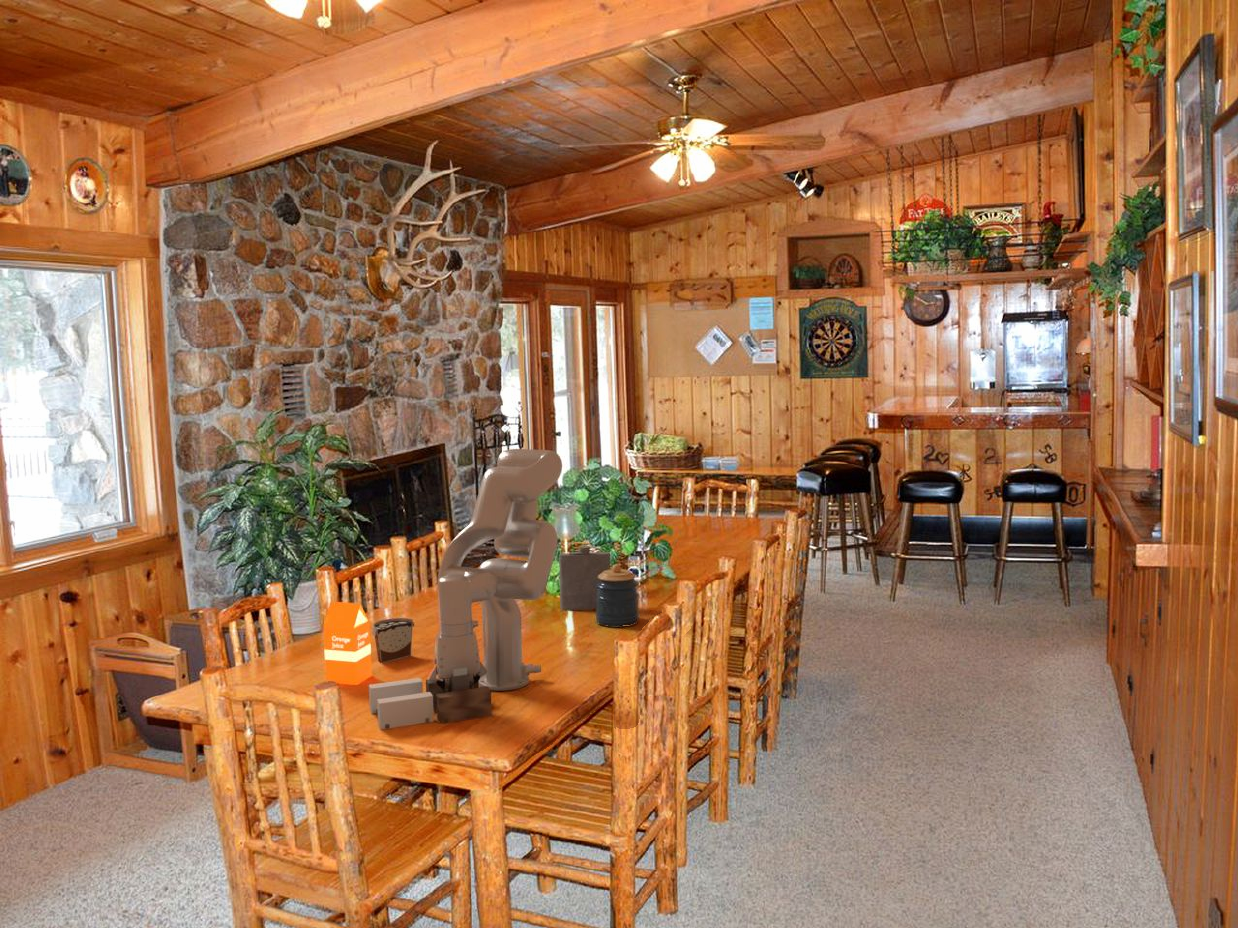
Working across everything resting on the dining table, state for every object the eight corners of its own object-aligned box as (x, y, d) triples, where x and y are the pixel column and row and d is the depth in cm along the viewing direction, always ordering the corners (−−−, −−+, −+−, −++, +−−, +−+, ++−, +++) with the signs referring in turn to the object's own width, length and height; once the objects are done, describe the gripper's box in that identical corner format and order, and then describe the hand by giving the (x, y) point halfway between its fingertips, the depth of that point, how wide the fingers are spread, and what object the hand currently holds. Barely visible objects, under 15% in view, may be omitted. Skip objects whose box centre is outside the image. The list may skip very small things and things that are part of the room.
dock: (420, 702, 262) (419, 677, 261) (433, 721, 249) (432, 695, 248) (369, 709, 257) (368, 684, 257) (380, 729, 245) (379, 703, 244)
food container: (403, 650, 304) (401, 614, 303) (415, 654, 300) (414, 618, 299) (364, 660, 296) (362, 624, 294) (376, 664, 291) (374, 628, 290)
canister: (631, 629, 321) (630, 570, 319) (589, 626, 325) (588, 567, 323) (644, 618, 333) (643, 561, 331) (604, 615, 337) (603, 558, 335)
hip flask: (610, 605, 348) (609, 543, 346) (611, 609, 344) (610, 546, 342) (560, 607, 347) (558, 545, 344) (560, 611, 343) (559, 548, 340)
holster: (475, 696, 265) (475, 672, 264) (491, 715, 252) (490, 690, 251) (426, 704, 260) (425, 679, 260) (440, 723, 248) (439, 697, 247)
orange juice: (341, 672, 285) (338, 597, 282) (372, 675, 283) (368, 599, 280) (325, 682, 278) (321, 605, 275) (356, 685, 275) (353, 607, 273)
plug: (464, 703, 260) (462, 660, 259) (470, 712, 254) (469, 667, 253) (447, 706, 258) (445, 662, 257) (453, 714, 253) (452, 670, 252)
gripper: (486, 619, 260) (489, 694, 263) (416, 628, 254) (419, 704, 257) (495, 628, 254) (498, 704, 256) (423, 637, 247) (427, 715, 250)
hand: (458, 703), depth 256 cm, fingers closed on plug, 4 cm apart
